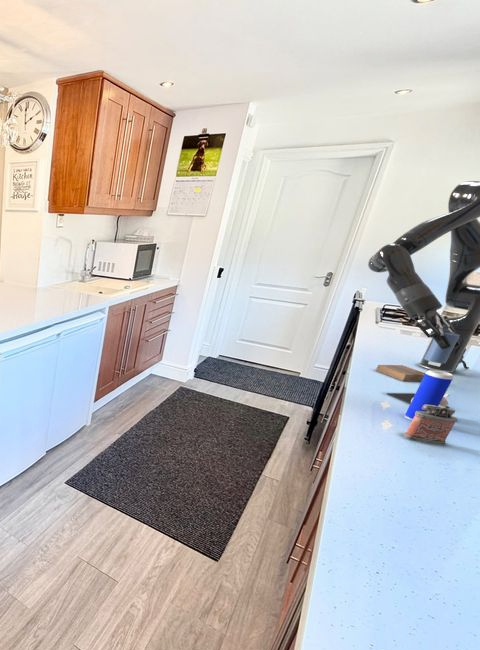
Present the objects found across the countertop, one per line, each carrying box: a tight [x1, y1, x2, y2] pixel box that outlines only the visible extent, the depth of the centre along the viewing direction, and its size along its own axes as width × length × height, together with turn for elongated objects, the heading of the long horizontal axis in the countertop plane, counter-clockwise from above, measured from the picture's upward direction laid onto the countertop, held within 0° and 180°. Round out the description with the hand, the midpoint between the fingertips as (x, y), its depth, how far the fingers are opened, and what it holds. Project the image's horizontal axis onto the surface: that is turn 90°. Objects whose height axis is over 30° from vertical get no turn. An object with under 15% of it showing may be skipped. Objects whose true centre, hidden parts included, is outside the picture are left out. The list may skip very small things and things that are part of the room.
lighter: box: [403, 404, 459, 446], centre depth 105 cm, size 8×3×10 cm, turn 71°
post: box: [424, 331, 460, 363], centre depth 124 cm, size 5×5×9 cm
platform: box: [375, 364, 426, 382], centre depth 151 cm, size 10×10×2 cm
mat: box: [386, 392, 450, 408], centre depth 130 cm, size 10×10×1 cm
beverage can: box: [404, 369, 454, 421], centre depth 115 cm, size 5×5×15 cm
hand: (451, 347), depth 122 cm, fingers closed on post, 4 cm apart
